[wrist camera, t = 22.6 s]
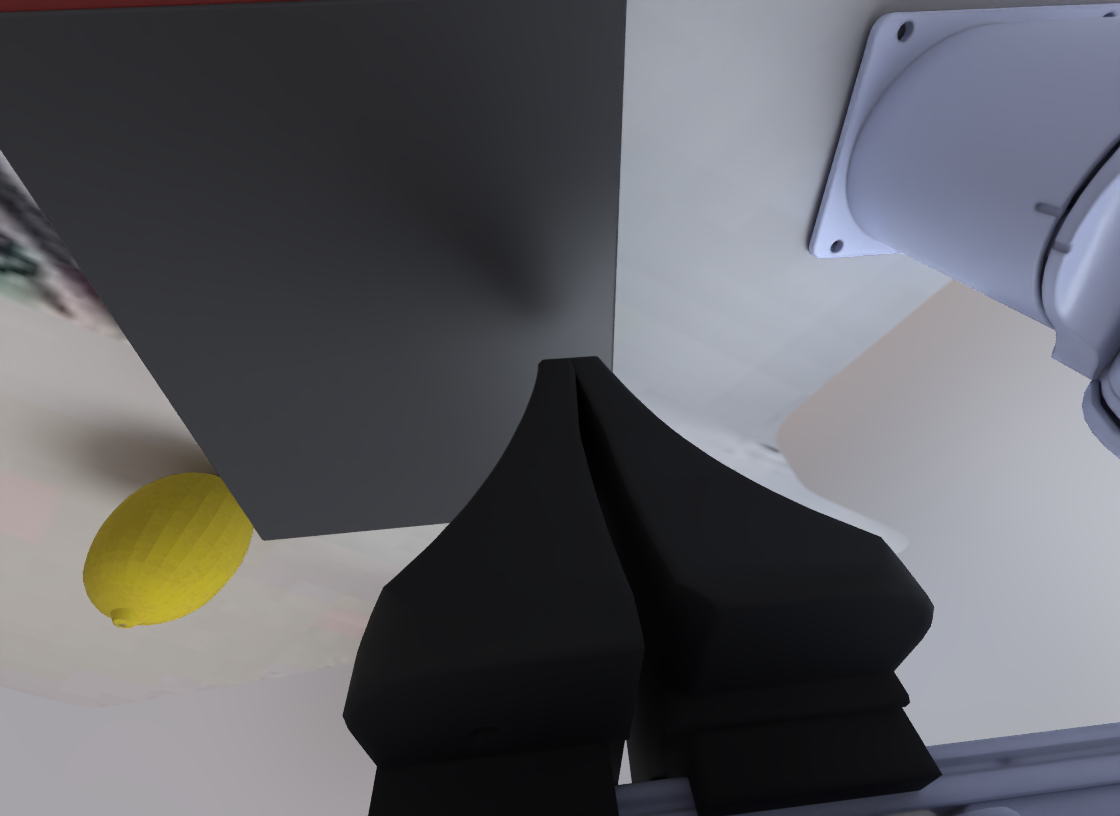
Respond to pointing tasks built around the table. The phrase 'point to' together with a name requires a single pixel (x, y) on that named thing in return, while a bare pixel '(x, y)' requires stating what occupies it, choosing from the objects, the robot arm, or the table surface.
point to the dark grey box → (334, 225)
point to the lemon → (166, 550)
